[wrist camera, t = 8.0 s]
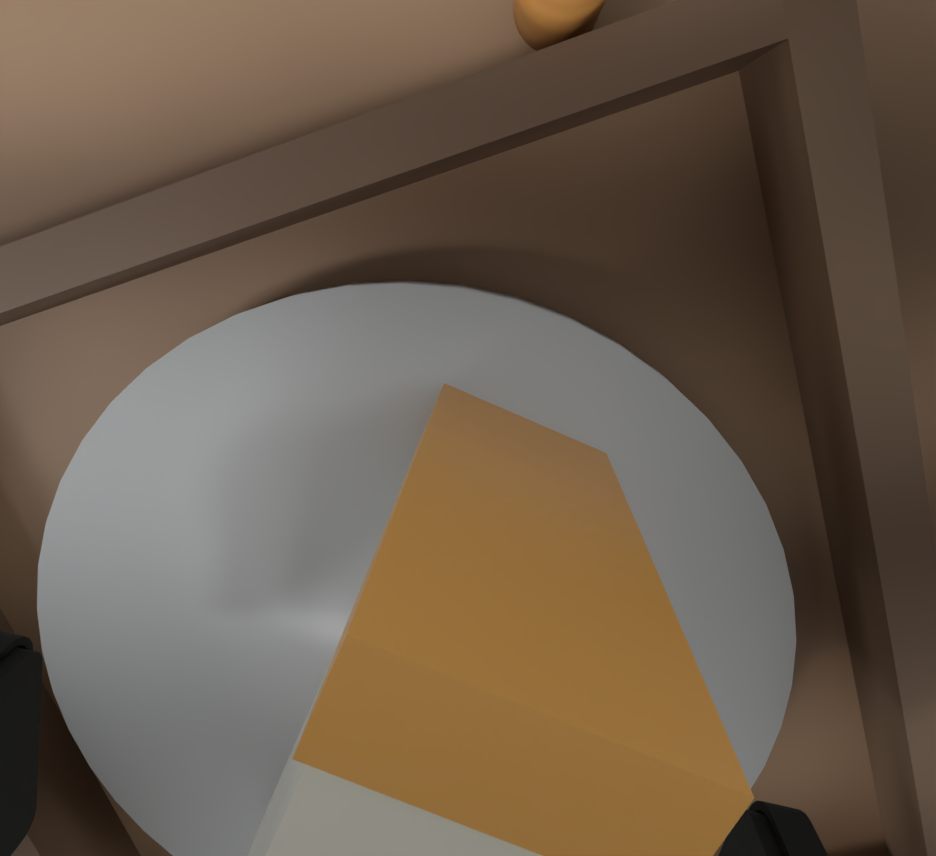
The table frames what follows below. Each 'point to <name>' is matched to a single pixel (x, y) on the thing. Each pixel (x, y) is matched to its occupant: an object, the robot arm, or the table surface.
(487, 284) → the dial board
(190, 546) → the dial
